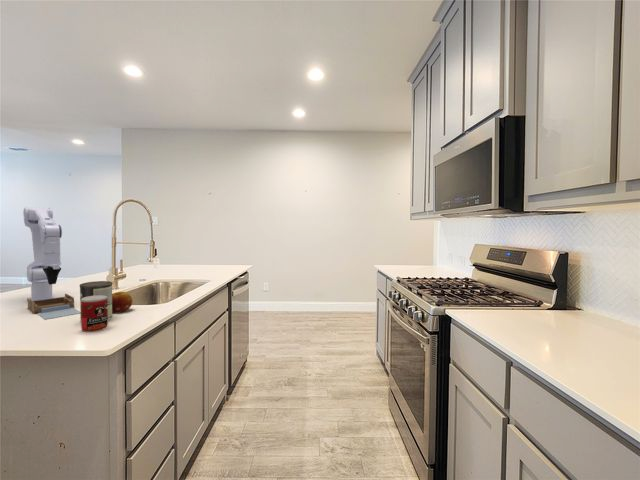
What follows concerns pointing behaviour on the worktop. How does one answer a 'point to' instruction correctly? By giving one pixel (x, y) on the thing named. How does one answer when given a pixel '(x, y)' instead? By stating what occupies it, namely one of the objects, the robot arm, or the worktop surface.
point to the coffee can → (97, 292)
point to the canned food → (94, 313)
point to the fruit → (121, 301)
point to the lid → (57, 312)
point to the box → (50, 303)
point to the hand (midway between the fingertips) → (52, 284)
